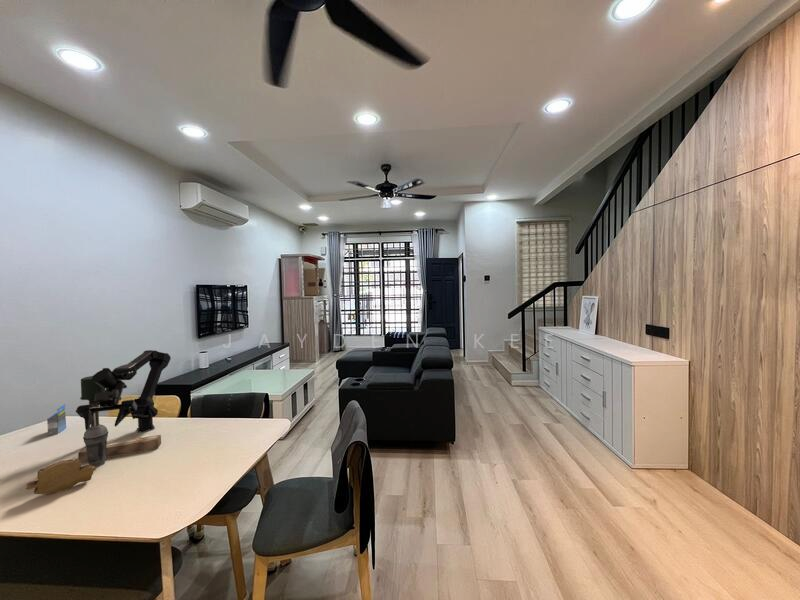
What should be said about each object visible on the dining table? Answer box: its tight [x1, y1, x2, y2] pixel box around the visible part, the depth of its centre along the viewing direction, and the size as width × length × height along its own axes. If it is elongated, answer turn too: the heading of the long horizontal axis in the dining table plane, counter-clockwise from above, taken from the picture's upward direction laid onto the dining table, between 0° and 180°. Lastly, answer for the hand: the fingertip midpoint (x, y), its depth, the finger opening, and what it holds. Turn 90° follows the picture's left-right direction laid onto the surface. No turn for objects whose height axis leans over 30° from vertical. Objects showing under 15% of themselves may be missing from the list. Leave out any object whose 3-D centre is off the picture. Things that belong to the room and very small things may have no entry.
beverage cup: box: [82, 413, 109, 468], centre depth 126 cm, size 7×7×20 cm
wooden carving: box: [25, 458, 97, 495], centre depth 110 cm, size 16×5×10 cm, turn 141°
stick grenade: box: [79, 375, 106, 427], centre depth 145 cm, size 8×9×30 cm
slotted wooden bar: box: [77, 434, 162, 463], centre depth 136 cm, size 26×5×4 cm, turn 114°
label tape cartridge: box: [46, 403, 67, 436], centre depth 160 cm, size 9×4×12 cm, turn 28°
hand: (101, 427), depth 130 cm, fingers open, 9 cm apart
